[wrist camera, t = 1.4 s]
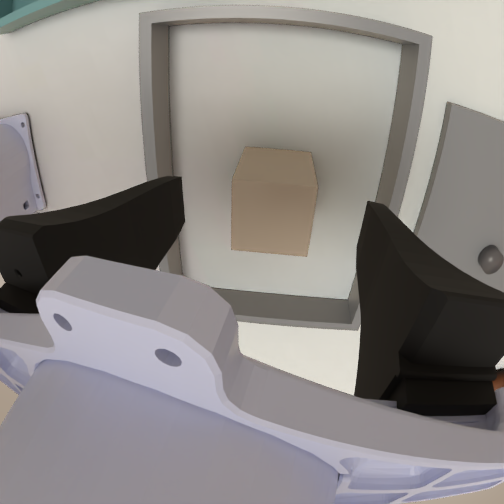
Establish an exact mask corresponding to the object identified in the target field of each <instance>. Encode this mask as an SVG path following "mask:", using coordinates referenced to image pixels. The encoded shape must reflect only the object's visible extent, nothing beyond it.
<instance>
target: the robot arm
mask: <svg viewBox="0 0 504 504" xmlns="http://www.w3.org/2000/svg"><path fill="white" fill-rule="evenodd" d="M24 124H25V126H24ZM38 194H39V195H38ZM45 207H46V203H45V199H44V195H43V191H42V187H41V183H40V179H39V174H38V170H37V165H36V160H35V155H34V150H33V145H32V139H31V133H30V127H29V120H28V116H27V114H26V113H22V114H18V115H14V116H10V117H6V118H2V119H0V273H1V275H2V277H3V279H4V281H5V282H6V283H5V284H4V285H3V286H2V287H1V288H0V381H2V382H3V383H4V384H5V385H7V386H8V387H9V388H10V389H12V390H13V391H14V392H16V393H17V394H18V395H19V396H18V398H17V399H16V401H15V402H14V404H13V406H12V407H11V409H10V411H9V412H8V414H7V415H6V417H5V419H4V421H3V422H2V424H1V426H0V504H401V503H409V502H417V501H424V500H431V499H438V498H444V497H450V496H455V495H461V494H466V493H471V492H476V491H481V490H486V489H490V488H492V487H494V486H496V485H498V484H500V483H502V482H504V387H501V388H499V389H497V390H495V391H494V386H493V382H492V381H494V380H495V379H496V378H497V372H496V368H495V365H496V364H497V363H498V362H499V361H500V359H501V358H502V357H503V356H504V292H502V291H500V290H497V289H495V288H493V287H491V286H488V285H486V284H484V283H483V282H481V281H479V280H477V279H475V278H473V277H472V276H470V275H468V274H466V273H465V272H463V271H461V270H460V269H458V268H457V267H455V266H454V265H452V264H451V263H449V262H448V261H446V260H445V259H444V258H442V257H441V256H440V255H438V254H437V253H436V252H435V251H433V250H432V249H431V248H429V247H428V246H427V245H426V244H425V243H424V242H423V241H421V240H420V239H419V238H418V237H417V236H416V235H415V234H414V233H413V232H412V231H411V230H410V229H409V228H408V227H407V226H406V225H405V224H404V223H403V222H402V221H401V220H400V219H399V218H398V217H397V216H396V215H395V214H394V213H393V212H392V211H391V210H390V209H389V208H388V207H387V206H385V205H384V204H381V203H376V202H370V201H367V206H366V210H365V215H364V219H363V223H362V228H361V232H360V236H359V240H358V244H357V255H356V271H357V281H358V291H359V302H360V313H361V332H360V349H359V360H358V370H357V378H356V386H355V393H354V396H353V395H350V394H347V393H344V392H341V391H338V390H335V389H332V388H329V387H326V386H323V385H321V384H318V383H315V382H312V381H309V380H307V379H304V378H301V377H298V376H296V375H293V374H290V373H288V372H285V371H282V370H280V369H277V368H275V367H272V366H270V365H267V364H265V363H262V362H260V361H257V360H255V359H252V358H250V357H247V356H245V355H243V354H242V353H241V352H240V349H239V344H238V323H237V321H236V318H235V315H234V312H233V310H232V307H231V305H230V304H229V303H228V302H226V301H225V300H224V299H223V298H222V297H221V296H220V295H219V294H218V293H217V292H215V291H214V290H213V289H212V288H211V287H210V286H208V285H206V284H203V283H200V282H198V281H195V280H193V279H190V278H188V277H186V276H182V275H177V274H172V273H167V272H162V271H157V270H155V269H156V268H157V267H158V265H159V264H160V262H161V261H162V259H163V258H164V257H165V255H166V254H167V252H168V251H169V249H170V248H171V246H172V245H173V244H174V242H175V241H176V239H177V237H178V235H179V233H180V231H181V229H182V227H183V225H184V223H185V215H184V204H183V192H182V179H181V177H175V176H164V177H160V178H157V179H154V180H151V181H148V182H145V183H143V184H140V185H137V186H135V187H132V188H130V189H127V190H124V191H122V192H119V193H116V194H113V195H111V196H108V197H105V198H102V199H99V200H96V201H93V202H89V203H86V204H83V205H79V206H74V207H70V208H66V209H61V210H56V211H51V212H44V213H38V214H33V213H34V212H35V211H36V210H43V209H44V208H45Z"/></svg>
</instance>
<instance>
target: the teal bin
mask: <svg viewBox="0 0 504 504" xmlns="http://www.w3.org/2000/svg"><path fill="white" fill-rule="evenodd" d="M96 1H100V0H0V34H6V33H10V32H12V31H15V30H17V29H19V28H21V27H24V26H26V25H28V24H31V23H33V22H36V21H38V20H41V19H43V18H46V17H49V16H51V15H54V14H57V13H60V12H63V11H66V10H69V9H72V8H75V7H78V6H82V5H85V4H89V3H92V2H96Z"/></svg>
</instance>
